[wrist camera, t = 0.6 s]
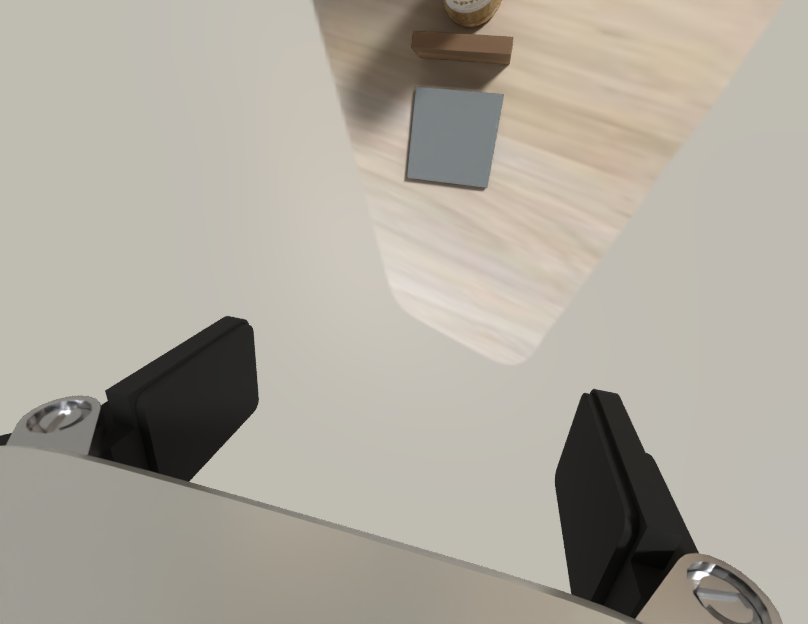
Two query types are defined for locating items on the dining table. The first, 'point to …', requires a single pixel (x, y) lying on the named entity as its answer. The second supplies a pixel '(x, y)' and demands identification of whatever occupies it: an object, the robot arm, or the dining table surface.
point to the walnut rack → (462, 47)
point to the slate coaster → (453, 135)
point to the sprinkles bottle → (471, 11)
